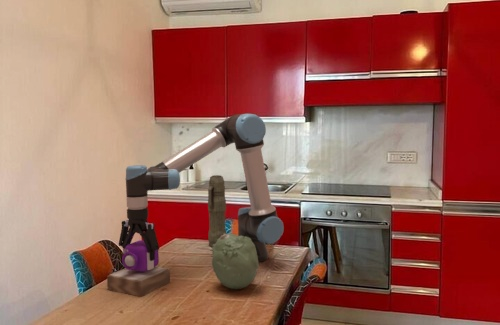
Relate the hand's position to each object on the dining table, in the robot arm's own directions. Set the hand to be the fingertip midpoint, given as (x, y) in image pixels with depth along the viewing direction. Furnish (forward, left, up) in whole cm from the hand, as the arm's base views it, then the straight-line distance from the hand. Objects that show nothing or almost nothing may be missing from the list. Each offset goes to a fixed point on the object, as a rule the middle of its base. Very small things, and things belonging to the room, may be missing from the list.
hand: (139, 266), depth 162 cm
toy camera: (0, 0, -1) cm, 1 cm away
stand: (0, 0, -7) cm, 7 cm away
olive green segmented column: (+4, -61, -7) cm, 62 cm away
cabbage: (-33, -14, -7) cm, 36 cm away
